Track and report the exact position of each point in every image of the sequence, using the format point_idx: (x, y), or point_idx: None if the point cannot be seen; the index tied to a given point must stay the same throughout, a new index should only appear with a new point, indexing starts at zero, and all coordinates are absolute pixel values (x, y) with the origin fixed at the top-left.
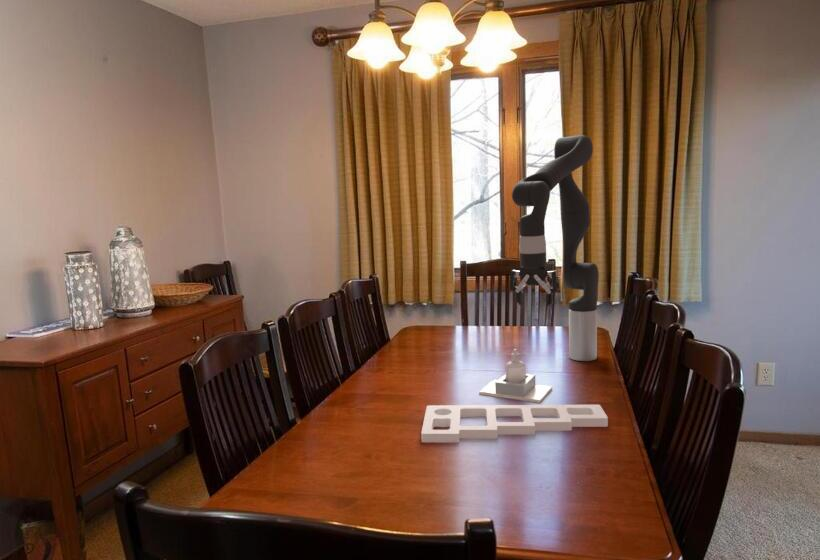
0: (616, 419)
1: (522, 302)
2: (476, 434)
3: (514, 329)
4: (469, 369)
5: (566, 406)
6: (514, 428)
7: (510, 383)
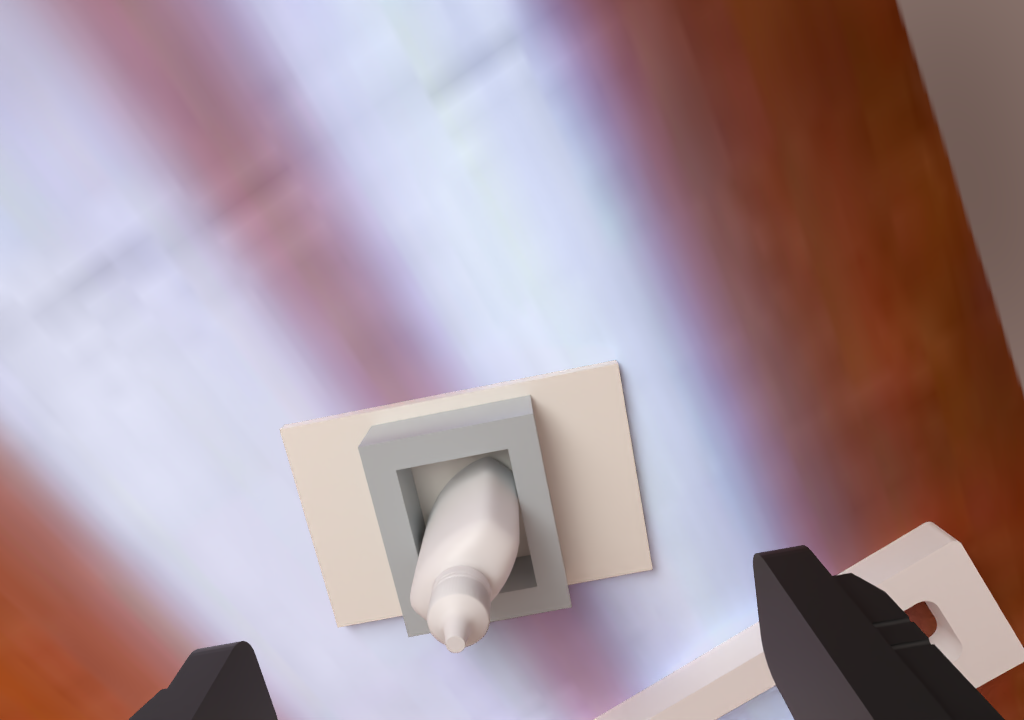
0: (1016, 550)
1: (244, 683)
2: None
3: None
4: (8, 312)
5: None
6: None
7: (490, 612)
